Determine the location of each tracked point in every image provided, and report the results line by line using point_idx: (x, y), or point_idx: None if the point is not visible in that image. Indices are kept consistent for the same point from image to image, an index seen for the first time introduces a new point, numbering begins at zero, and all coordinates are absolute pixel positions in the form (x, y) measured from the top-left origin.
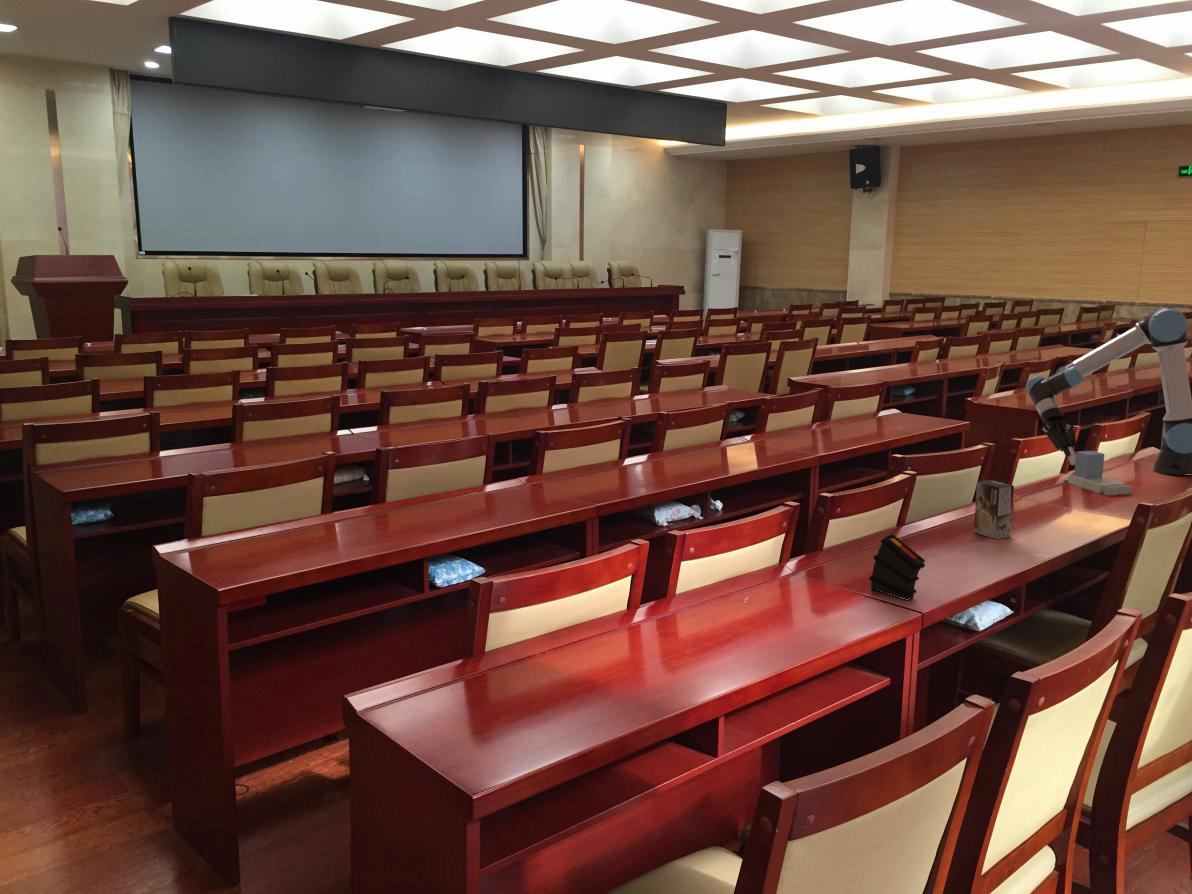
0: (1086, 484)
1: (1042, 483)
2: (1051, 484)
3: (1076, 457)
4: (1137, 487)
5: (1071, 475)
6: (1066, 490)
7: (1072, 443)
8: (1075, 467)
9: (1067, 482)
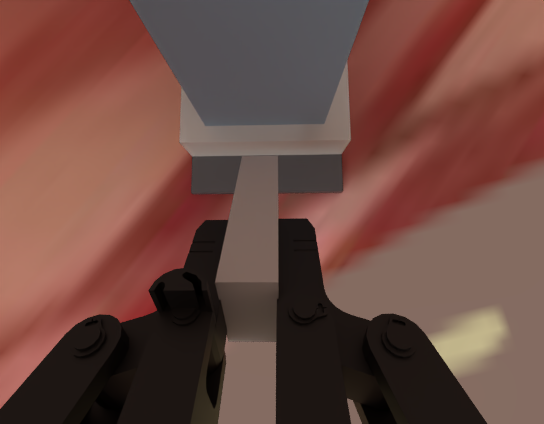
0: None
1: (485, 175)
2: (449, 145)
3: (355, 27)
4: (73, 8)
5: (343, 124)
6: (450, 21)
7: (144, 350)
8: (333, 90)
9: (340, 160)
